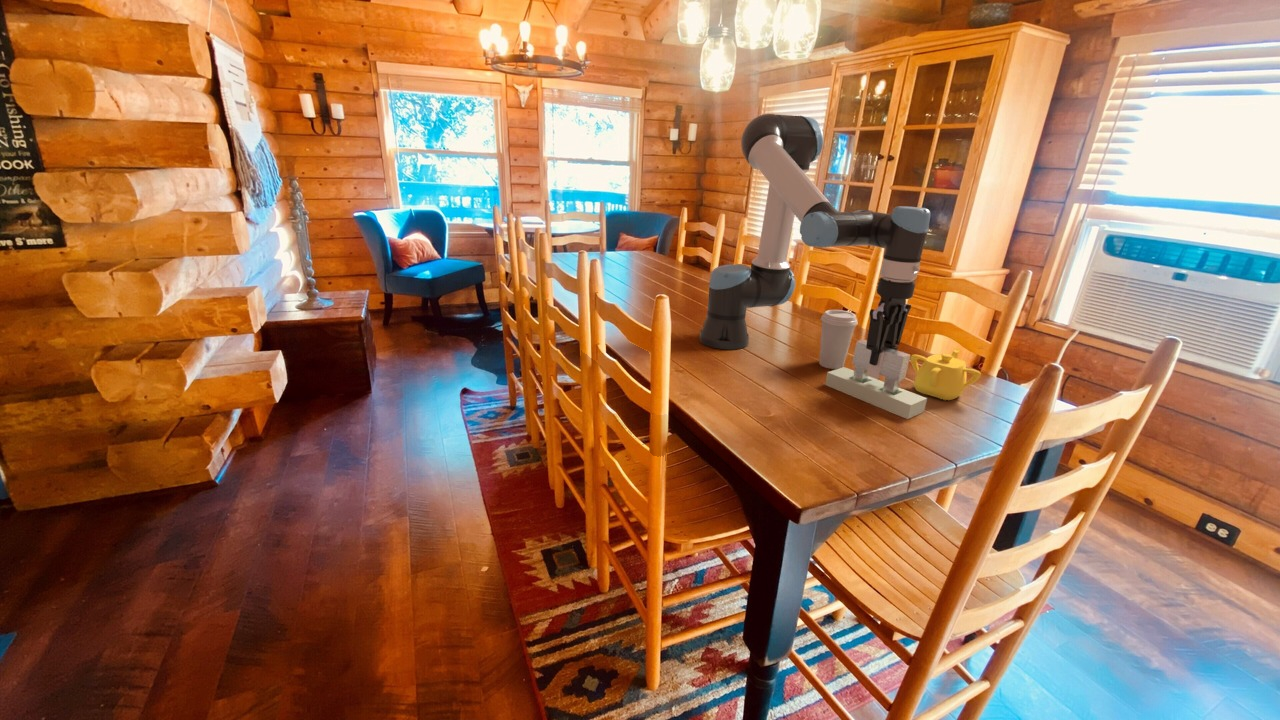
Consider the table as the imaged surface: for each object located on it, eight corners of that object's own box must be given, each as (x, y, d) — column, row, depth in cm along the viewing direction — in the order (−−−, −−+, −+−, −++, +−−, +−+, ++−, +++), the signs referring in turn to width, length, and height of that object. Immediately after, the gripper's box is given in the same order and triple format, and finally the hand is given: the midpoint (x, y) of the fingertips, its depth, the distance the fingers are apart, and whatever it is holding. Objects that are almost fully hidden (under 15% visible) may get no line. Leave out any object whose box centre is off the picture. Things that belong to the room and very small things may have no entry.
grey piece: (849, 379, 131) (856, 341, 127) (855, 377, 132) (863, 339, 129) (894, 397, 122) (903, 357, 118) (901, 394, 123) (910, 354, 120)
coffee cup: (844, 359, 152) (853, 310, 146) (853, 372, 143) (863, 319, 138) (810, 357, 153) (818, 307, 147) (817, 370, 144) (826, 317, 138)
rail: (825, 384, 134) (827, 372, 133) (841, 379, 138) (844, 367, 137) (907, 419, 118) (910, 405, 117) (923, 411, 122) (927, 398, 120)
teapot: (899, 380, 139) (908, 343, 136) (949, 382, 139) (959, 346, 135) (922, 402, 127) (932, 363, 123) (977, 405, 126) (988, 366, 122)
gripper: (893, 286, 110) (871, 387, 119) (932, 278, 119) (909, 373, 127) (861, 278, 116) (843, 376, 124) (901, 272, 124) (881, 363, 133)
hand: (876, 375), depth 126 cm, fingers closed on grey piece, 3 cm apart
